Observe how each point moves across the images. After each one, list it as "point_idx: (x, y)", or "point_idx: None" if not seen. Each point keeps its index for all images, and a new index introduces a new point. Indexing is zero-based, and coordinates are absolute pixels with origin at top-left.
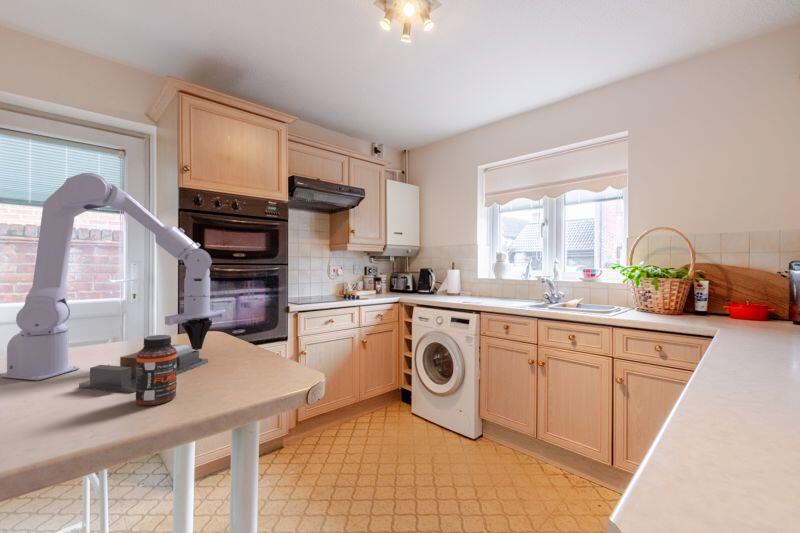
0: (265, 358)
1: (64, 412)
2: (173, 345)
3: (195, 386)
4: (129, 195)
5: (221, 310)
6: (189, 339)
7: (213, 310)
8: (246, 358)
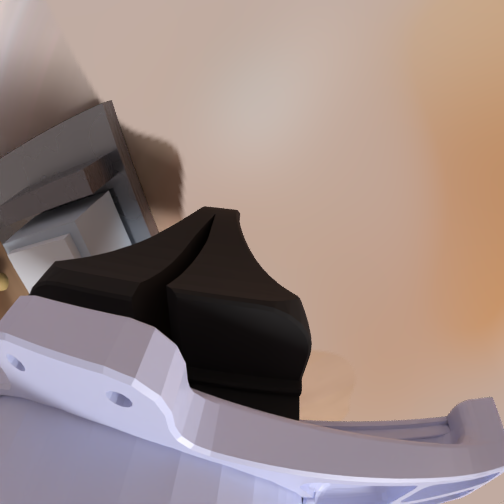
0: (326, 414)
1: None
2: (55, 254)
3: None
4: None
5: (464, 487)
6: (170, 228)
7: (444, 482)
8: (305, 384)
